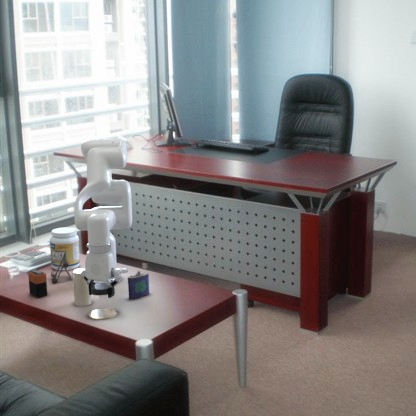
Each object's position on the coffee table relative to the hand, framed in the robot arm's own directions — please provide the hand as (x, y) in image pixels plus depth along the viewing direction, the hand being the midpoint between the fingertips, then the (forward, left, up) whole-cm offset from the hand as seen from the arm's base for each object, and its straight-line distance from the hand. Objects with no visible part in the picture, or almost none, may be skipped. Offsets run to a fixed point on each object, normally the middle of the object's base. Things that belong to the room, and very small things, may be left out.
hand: (101, 295), depth 244 cm
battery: (+11, -34, -8) cm, 37 cm away
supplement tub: (-11, -61, -8) cm, 63 cm away
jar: (+1, -15, -8) cm, 17 cm away
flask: (-19, -8, -8) cm, 22 cm away
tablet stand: (-3, -46, -8) cm, 47 cm away
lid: (0, 0, +3) cm, 3 cm away
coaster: (0, 0, -8) cm, 8 cm away
